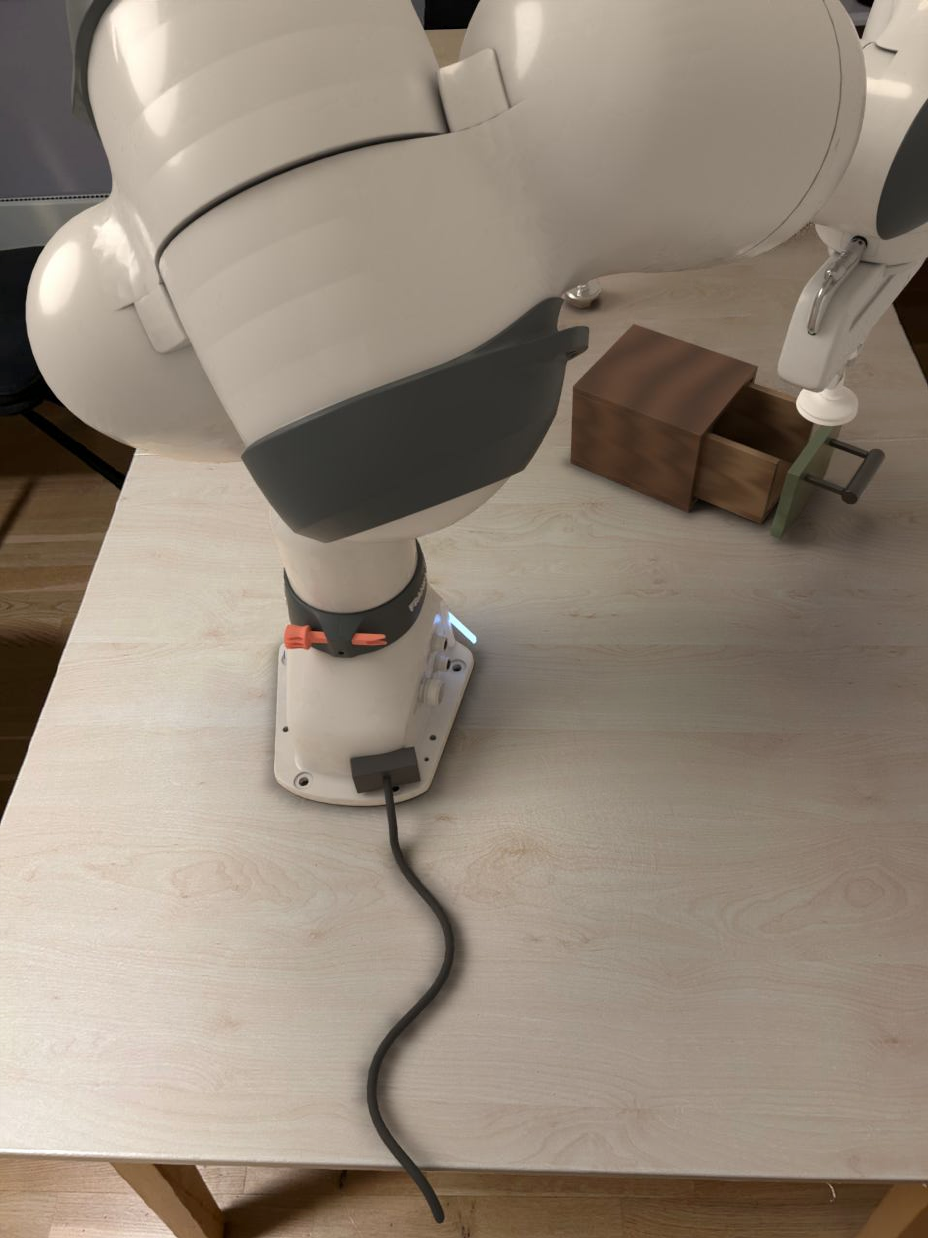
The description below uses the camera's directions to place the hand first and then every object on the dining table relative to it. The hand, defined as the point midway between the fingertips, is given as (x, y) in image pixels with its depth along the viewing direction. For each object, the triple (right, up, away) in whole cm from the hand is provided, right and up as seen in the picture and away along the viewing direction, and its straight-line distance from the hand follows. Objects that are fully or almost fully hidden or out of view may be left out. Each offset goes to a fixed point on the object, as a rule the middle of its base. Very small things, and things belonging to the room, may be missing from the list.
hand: (836, 371), depth 76 cm
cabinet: (-9, -2, +29) cm, 30 cm away
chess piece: (0, -2, +3) cm, 4 cm away
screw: (-15, +22, +48) cm, 54 cm away
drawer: (+2, -7, +23) cm, 24 cm away
